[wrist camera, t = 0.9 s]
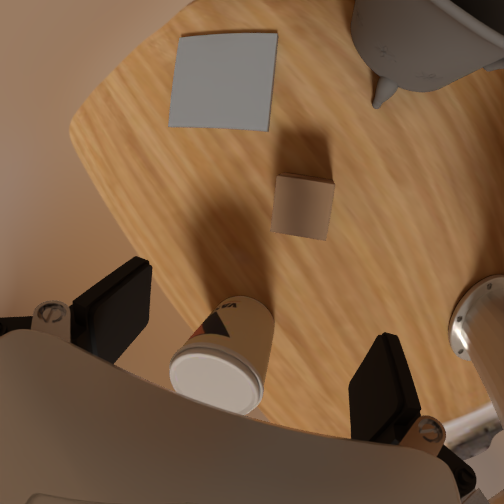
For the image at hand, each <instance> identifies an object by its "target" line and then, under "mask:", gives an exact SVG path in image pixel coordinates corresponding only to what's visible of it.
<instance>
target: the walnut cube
mask: <svg viewBox="0 0 504 504" xmlns="http://www.w3.org/2000/svg"><path fill="white" fill-rule="evenodd" d="M334 189H335V183H334V181H333V180H330V179H324V178H318V177H312V176H305V175H299V174H292V173H285V172H284V173H282V174H279V175H277V179H276V187H275V196H274V205H273V213H272V221H271V229H270V232H276V233H282V234H288V235H294V236H300V237H306V238H312V239H318V240H323V241H326V238H327V232H328V226H329V220H330V214H331V208H332V202H333V196H334Z"/></svg>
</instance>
